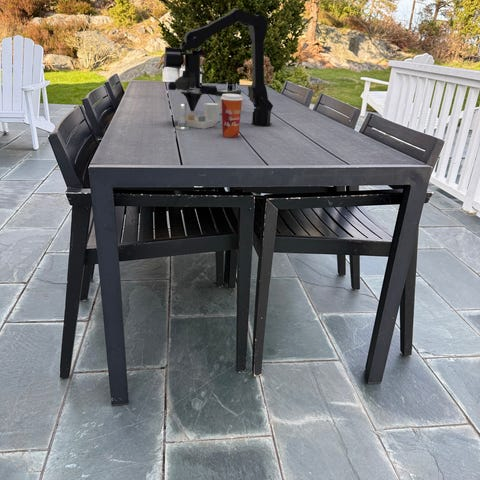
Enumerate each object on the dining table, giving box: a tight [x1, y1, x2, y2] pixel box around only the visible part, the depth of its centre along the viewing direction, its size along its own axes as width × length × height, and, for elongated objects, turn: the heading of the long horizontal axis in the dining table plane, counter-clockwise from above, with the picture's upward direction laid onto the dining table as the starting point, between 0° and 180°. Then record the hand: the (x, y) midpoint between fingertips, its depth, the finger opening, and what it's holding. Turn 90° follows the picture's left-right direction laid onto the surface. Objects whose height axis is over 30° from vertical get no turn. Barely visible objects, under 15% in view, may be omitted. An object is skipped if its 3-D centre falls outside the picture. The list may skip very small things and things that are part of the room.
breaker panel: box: [187, 114, 216, 130], centre depth 170 cm, size 12×8×4 cm, turn 62°
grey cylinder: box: [203, 102, 220, 124], centre depth 179 cm, size 7×7×7 cm
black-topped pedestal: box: [210, 81, 242, 115], centre depth 200 cm, size 28×26×13 cm
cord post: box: [175, 102, 190, 131], centre depth 161 cm, size 5×5×9 cm
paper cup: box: [221, 94, 244, 138], centre depth 153 cm, size 8×8×14 cm
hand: (192, 111), depth 169 cm, fingers closed
